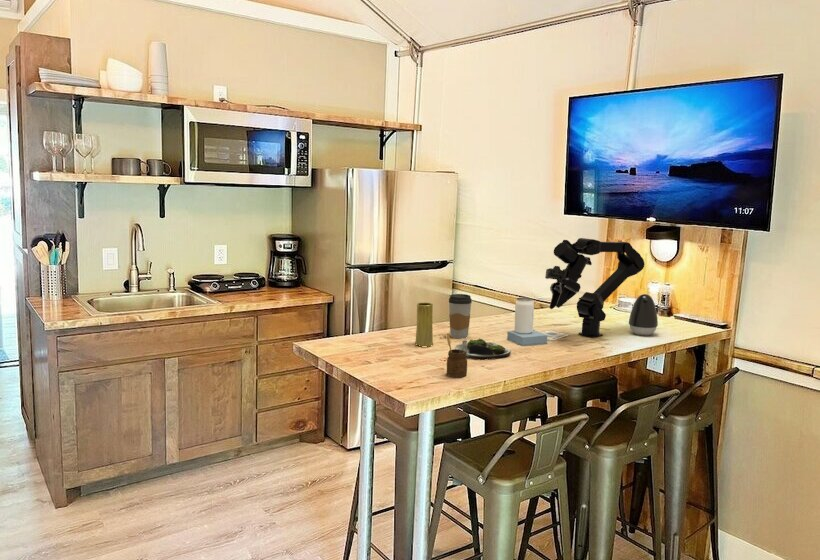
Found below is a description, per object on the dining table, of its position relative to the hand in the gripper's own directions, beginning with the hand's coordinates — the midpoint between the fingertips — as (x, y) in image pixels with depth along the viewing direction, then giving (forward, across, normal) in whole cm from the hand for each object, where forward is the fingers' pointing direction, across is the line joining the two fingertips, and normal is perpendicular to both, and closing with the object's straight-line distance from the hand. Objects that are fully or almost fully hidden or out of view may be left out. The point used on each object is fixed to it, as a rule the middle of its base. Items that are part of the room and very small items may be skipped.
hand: (553, 308), depth 229 cm
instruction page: (+8, -10, +6) cm, 14 cm away
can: (+13, -2, -5) cm, 14 cm away
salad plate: (+28, +14, -17) cm, 35 cm away
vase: (+34, +5, -34) cm, 48 cm away
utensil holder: (+38, +38, -24) cm, 58 cm away
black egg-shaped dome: (-10, -13, +36) cm, 40 cm away
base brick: (+15, -1, -3) cm, 15 cm away
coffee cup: (+25, -7, -24) cm, 35 cm away
